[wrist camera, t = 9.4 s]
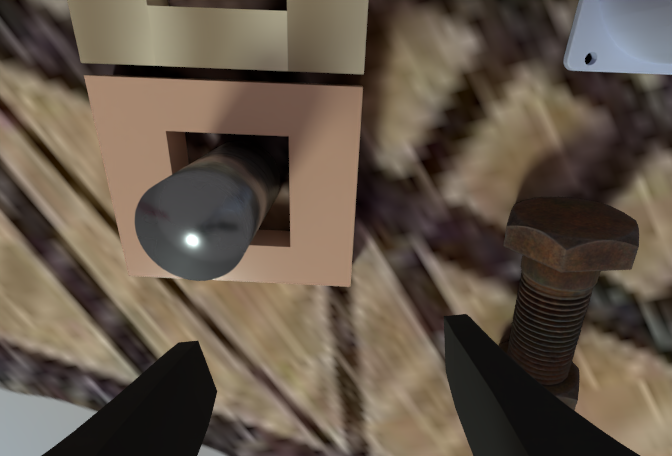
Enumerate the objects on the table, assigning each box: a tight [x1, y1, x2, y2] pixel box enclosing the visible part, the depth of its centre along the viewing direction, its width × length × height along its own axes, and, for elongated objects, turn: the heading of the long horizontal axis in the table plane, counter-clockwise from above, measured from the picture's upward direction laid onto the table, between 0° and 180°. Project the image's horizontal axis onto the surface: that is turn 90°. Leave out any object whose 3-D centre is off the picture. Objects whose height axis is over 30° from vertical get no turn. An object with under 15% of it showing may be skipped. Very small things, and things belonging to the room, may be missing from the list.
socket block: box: [84, 75, 363, 287], centre depth 18 cm, size 12×10×2 cm
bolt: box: [499, 197, 639, 410], centre depth 20 cm, size 6×5×15 cm
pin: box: [135, 140, 281, 281], centre depth 16 cm, size 4×4×7 cm
